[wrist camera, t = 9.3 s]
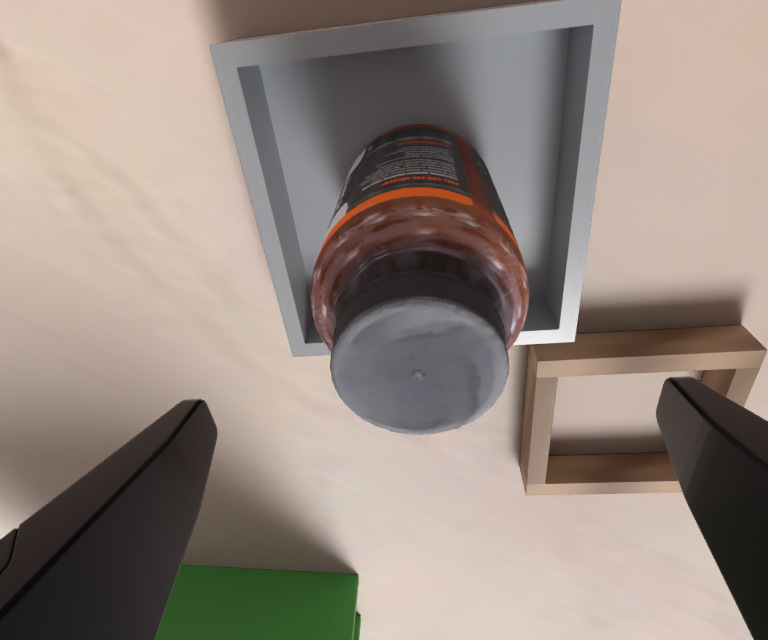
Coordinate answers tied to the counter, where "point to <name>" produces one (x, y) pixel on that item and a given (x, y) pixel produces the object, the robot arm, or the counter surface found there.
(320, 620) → the hardback book
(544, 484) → the brown wooden square frame
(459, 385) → the supplement bottle
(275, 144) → the tray
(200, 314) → the counter surface
